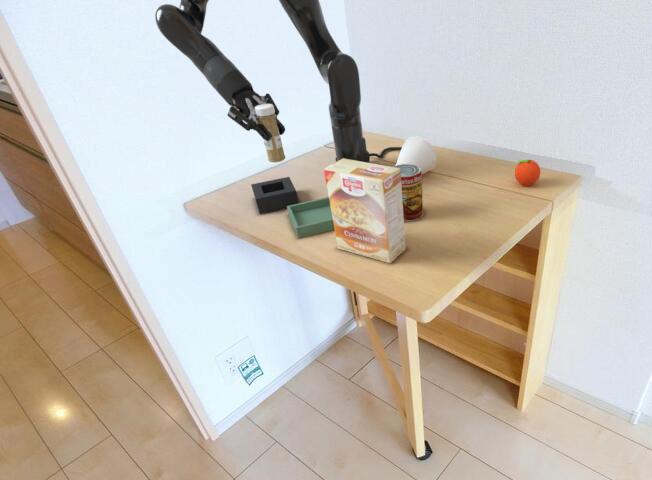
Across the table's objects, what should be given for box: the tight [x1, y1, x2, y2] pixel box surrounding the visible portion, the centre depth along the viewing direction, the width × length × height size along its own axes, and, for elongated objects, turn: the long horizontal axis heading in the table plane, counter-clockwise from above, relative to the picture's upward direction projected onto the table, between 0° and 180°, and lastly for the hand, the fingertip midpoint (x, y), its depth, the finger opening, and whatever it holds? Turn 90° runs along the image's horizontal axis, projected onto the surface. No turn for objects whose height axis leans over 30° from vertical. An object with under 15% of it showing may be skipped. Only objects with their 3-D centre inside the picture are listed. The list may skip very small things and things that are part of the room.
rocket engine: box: [394, 135, 438, 176], centre depth 128 cm, size 12×12×18 cm
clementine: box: [514, 159, 541, 187], centre depth 122 cm, size 8×7×7 cm
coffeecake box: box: [323, 158, 407, 264], centre depth 96 cm, size 15×7×20 cm, turn 58°
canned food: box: [393, 164, 424, 222], centre depth 111 cm, size 8×8×12 cm
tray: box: [286, 196, 335, 239], centre depth 114 cm, size 16×14×3 cm
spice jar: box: [255, 104, 286, 163], centre depth 110 cm, size 5×5×13 cm
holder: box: [251, 176, 300, 215], centre depth 124 cm, size 11×11×4 cm
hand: (276, 135), depth 110 cm, fingers closed on spice jar, 4 cm apart
